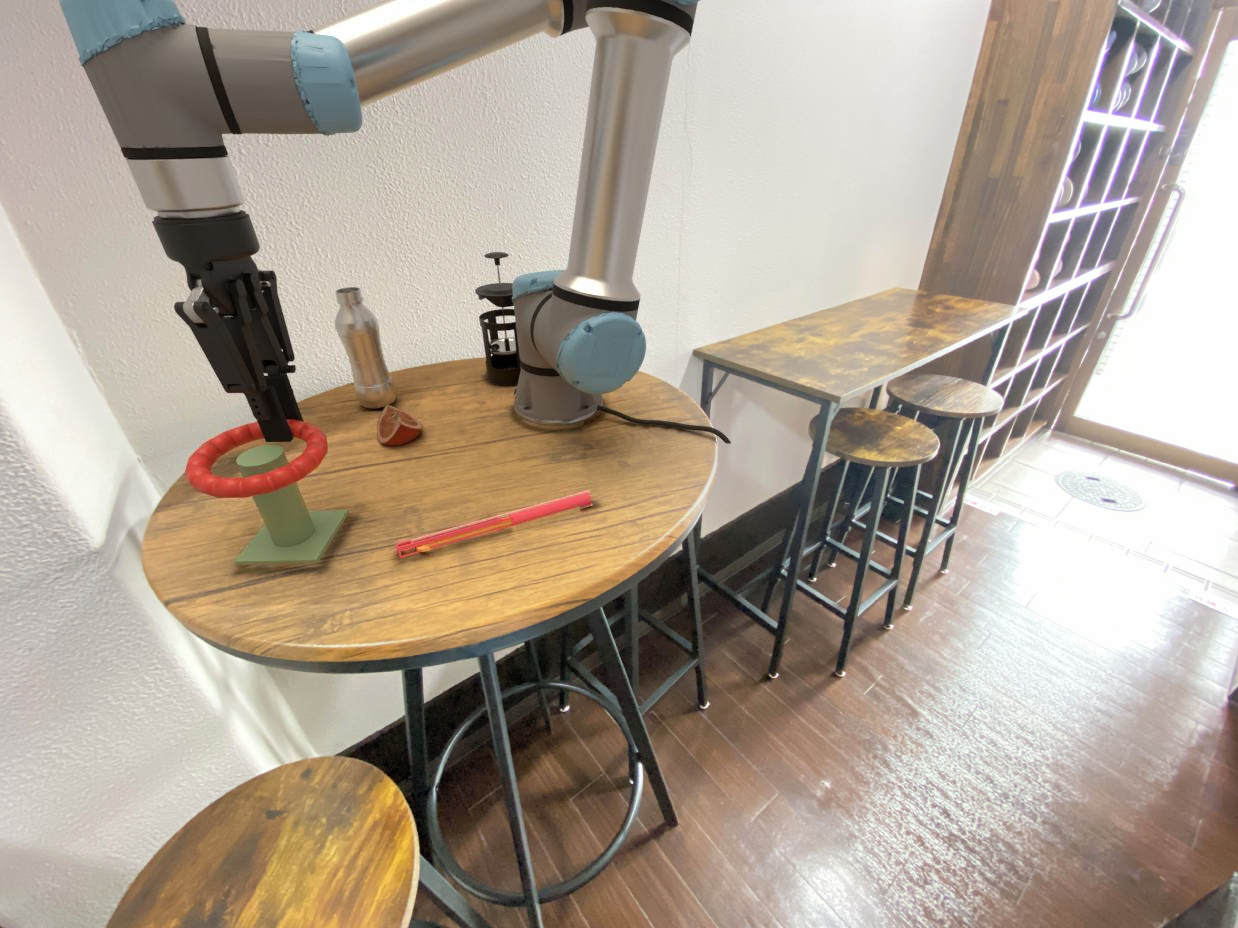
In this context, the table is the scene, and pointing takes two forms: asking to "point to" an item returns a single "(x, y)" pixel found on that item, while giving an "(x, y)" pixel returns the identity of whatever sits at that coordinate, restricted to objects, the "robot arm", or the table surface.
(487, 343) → the french press
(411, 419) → the fruit slice
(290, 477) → the ring
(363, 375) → the plastic bottle
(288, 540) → the post
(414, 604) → the table surface
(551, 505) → the red ballpoint pen
